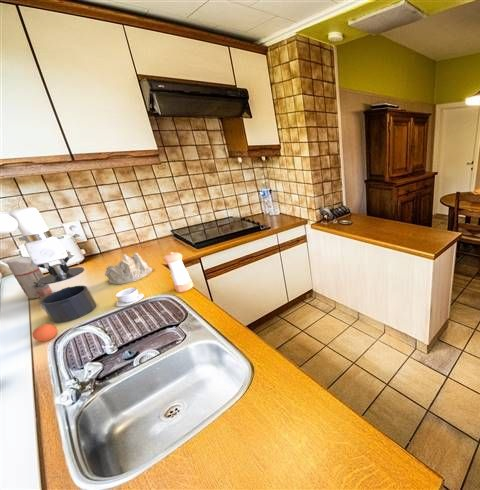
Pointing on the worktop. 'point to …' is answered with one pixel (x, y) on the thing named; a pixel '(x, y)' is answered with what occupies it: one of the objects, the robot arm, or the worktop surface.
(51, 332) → the ball
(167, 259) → the salt shaker
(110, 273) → the jagged rock
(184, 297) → the worktop surface
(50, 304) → the pot
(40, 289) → the lighter
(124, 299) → the teacup
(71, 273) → the pot lid
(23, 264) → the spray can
